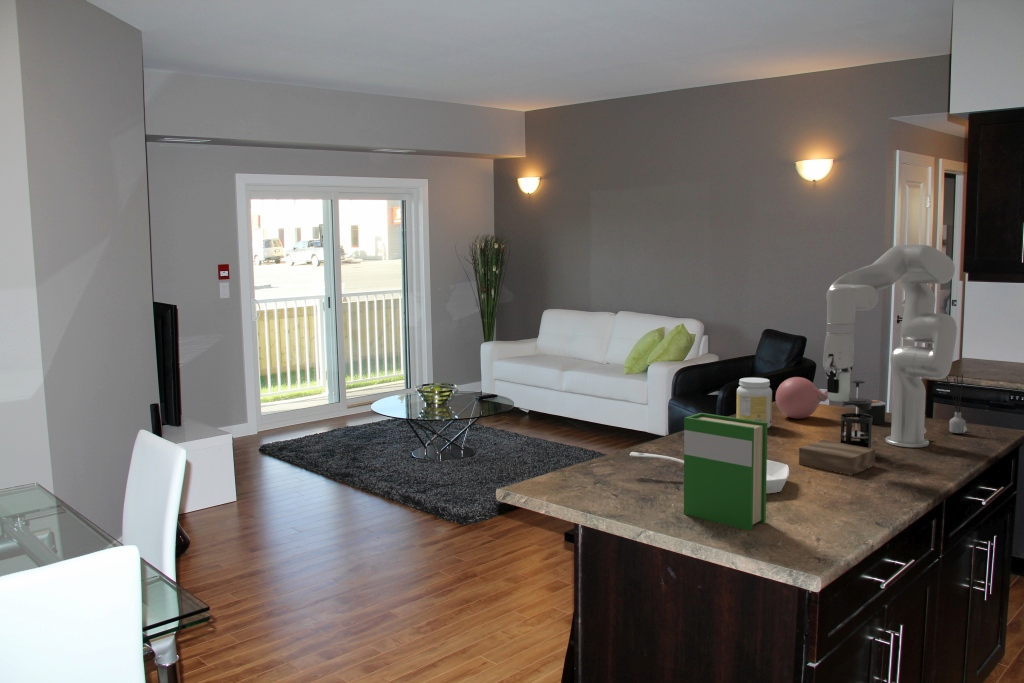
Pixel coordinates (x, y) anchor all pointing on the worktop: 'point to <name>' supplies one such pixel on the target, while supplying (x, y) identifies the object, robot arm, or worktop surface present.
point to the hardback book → (725, 469)
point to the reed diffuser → (957, 414)
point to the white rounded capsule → (841, 388)
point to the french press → (857, 422)
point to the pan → (774, 479)
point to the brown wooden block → (837, 457)
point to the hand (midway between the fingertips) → (838, 390)
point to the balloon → (798, 397)
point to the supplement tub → (754, 400)
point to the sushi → (876, 412)
